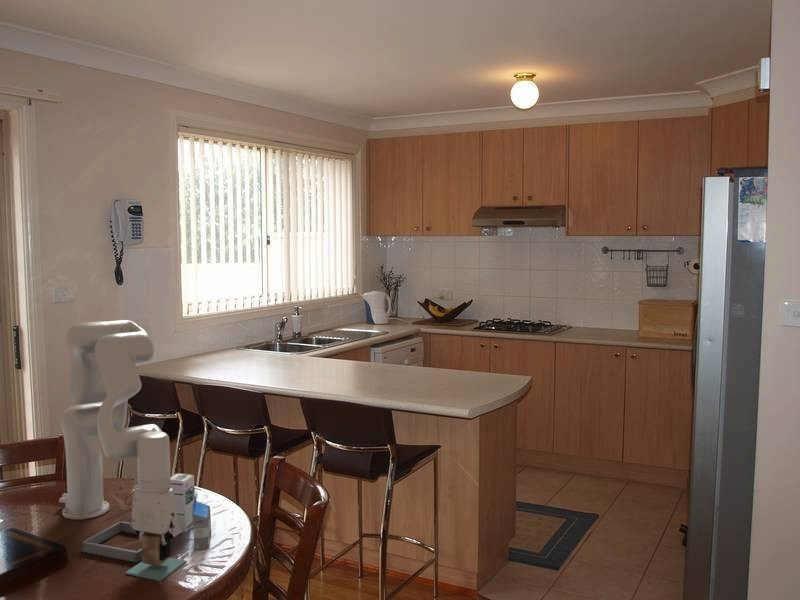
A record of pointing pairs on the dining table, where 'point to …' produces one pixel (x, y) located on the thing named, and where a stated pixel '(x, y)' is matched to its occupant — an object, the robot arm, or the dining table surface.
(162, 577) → the mat
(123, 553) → the grey rectangular frame
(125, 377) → the robot arm
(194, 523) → the label tape box
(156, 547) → the wooden block
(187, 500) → the syrup box
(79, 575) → the dining table surface
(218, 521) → the dining table surface
